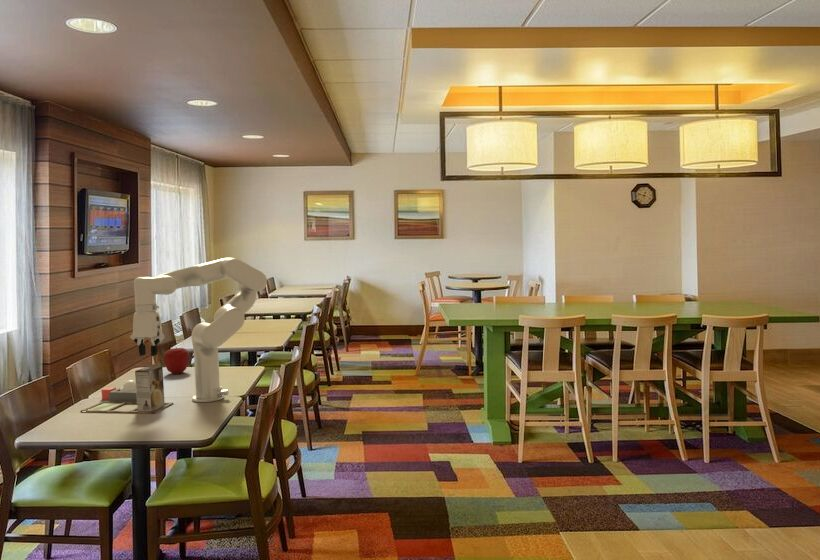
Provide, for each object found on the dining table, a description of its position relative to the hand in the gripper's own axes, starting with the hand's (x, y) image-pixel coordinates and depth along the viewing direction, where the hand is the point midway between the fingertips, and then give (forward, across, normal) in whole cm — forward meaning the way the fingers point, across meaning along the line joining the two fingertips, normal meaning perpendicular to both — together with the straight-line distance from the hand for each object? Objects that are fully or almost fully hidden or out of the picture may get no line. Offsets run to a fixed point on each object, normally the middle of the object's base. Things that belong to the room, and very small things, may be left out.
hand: (148, 354), depth 255 cm
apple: (+22, +24, -64) cm, 72 cm away
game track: (+21, +10, 0) cm, 24 cm away
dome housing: (+21, +18, -15) cm, 32 cm away
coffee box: (+22, 0, 0) cm, 22 cm away
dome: (+20, +18, -15) cm, 31 cm away
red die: (+21, +28, -15) cm, 38 cm away
